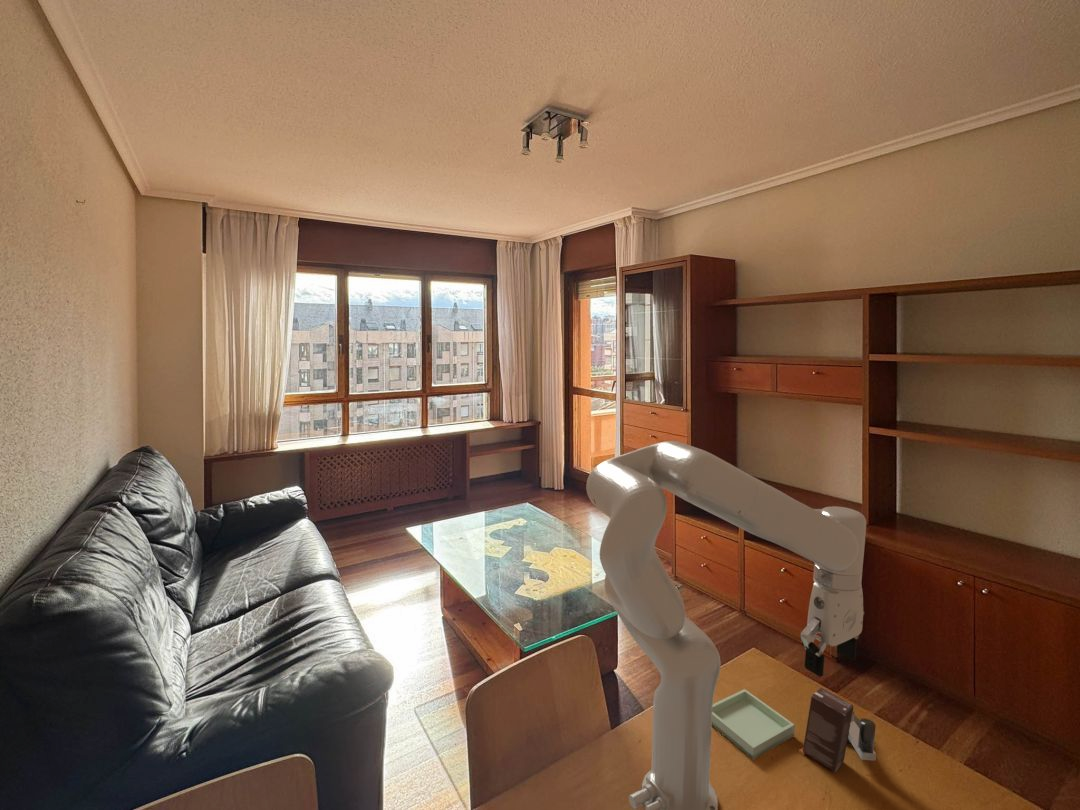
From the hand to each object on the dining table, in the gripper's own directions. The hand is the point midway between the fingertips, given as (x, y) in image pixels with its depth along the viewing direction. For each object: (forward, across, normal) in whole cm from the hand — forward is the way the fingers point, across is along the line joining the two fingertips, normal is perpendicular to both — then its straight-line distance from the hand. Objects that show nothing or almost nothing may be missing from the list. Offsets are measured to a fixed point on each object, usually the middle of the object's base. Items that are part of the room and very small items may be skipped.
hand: (830, 663), depth 96 cm
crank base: (+19, +5, +2) cm, 19 cm away
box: (+18, -1, 0) cm, 19 cm away
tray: (+19, -7, +12) cm, 23 cm away
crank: (+16, +7, -1) cm, 18 cm away
